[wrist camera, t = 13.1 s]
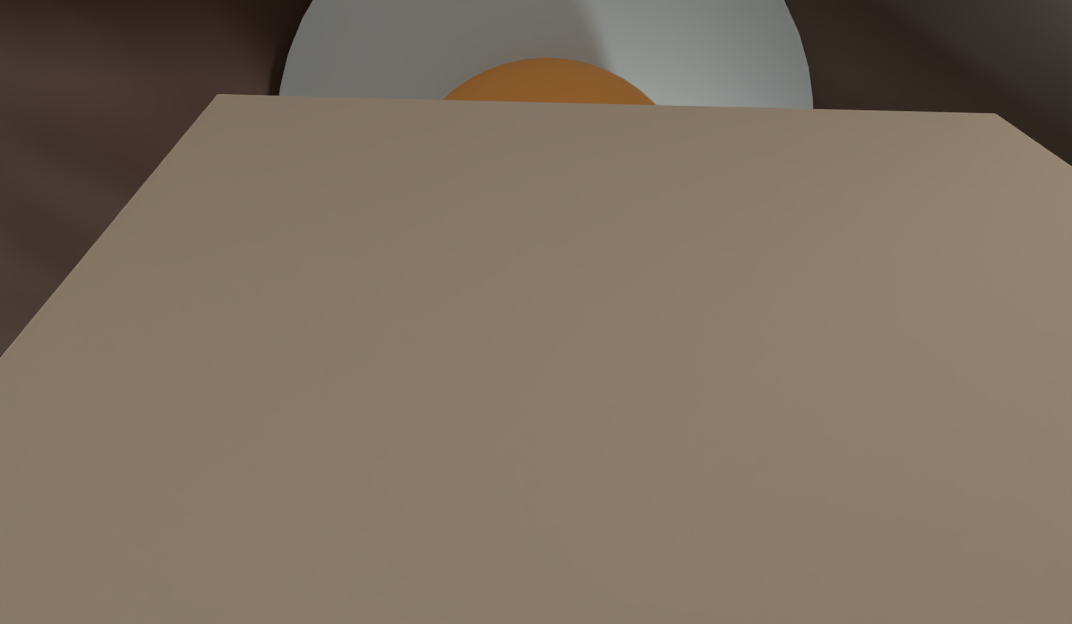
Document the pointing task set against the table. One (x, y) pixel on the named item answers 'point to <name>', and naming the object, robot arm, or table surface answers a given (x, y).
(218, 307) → the block
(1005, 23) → the table surface
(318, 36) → the disc
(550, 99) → the ball
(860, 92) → the table surface
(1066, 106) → the table surface
